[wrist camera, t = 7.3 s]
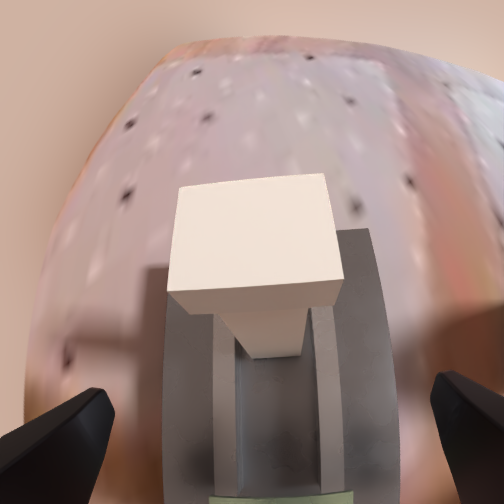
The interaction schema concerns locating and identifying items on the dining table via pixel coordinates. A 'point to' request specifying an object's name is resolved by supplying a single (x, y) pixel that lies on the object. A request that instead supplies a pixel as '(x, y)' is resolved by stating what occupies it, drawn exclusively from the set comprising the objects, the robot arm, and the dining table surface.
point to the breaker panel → (285, 404)
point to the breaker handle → (257, 257)
